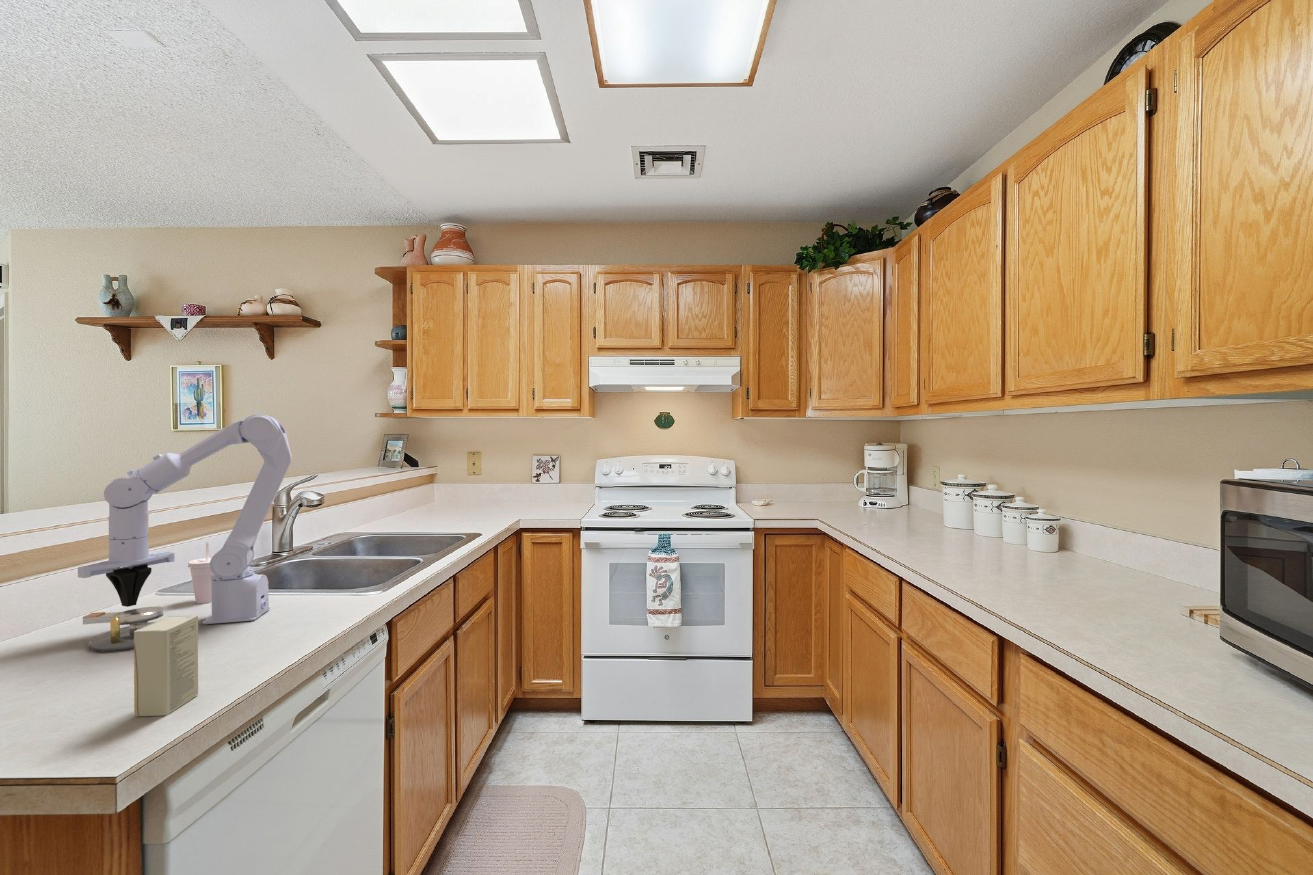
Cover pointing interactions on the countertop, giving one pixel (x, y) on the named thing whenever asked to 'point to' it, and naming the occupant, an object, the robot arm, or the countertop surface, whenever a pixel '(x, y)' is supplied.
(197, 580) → the smoothie
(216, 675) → the countertop surface
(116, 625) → the base
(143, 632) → the skincare box
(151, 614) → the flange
